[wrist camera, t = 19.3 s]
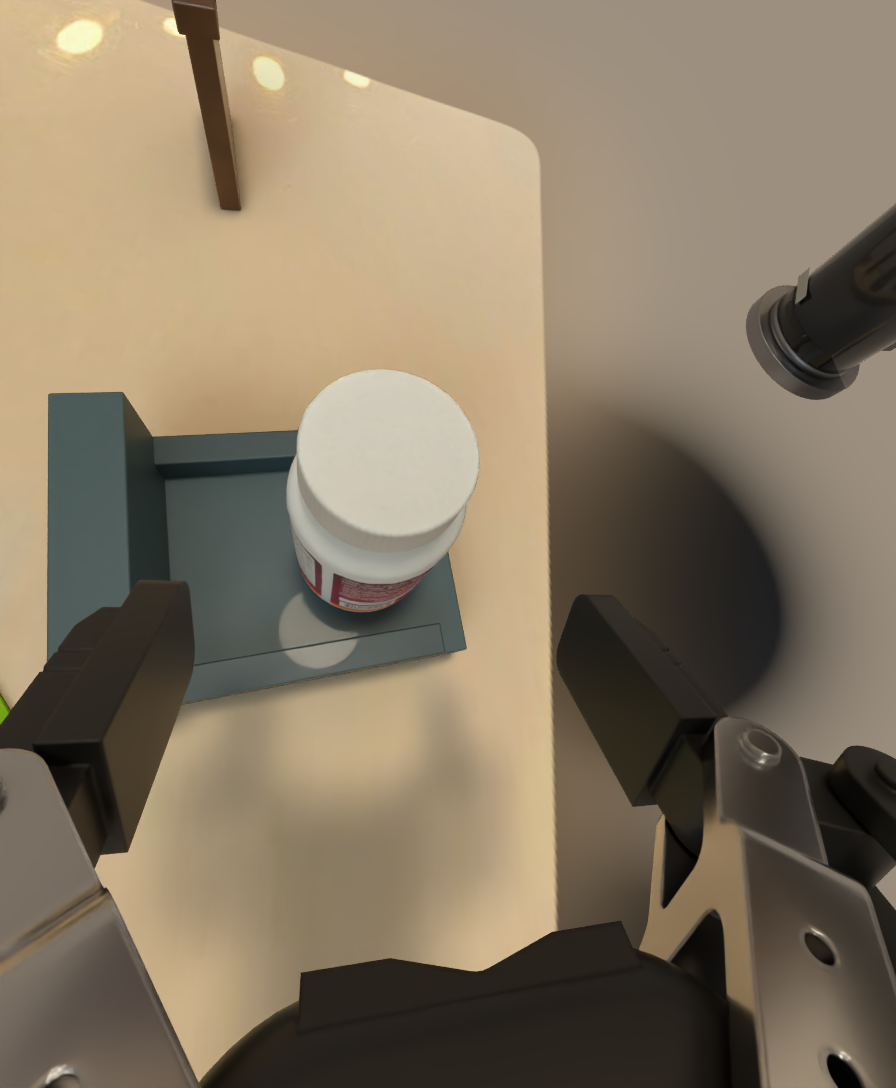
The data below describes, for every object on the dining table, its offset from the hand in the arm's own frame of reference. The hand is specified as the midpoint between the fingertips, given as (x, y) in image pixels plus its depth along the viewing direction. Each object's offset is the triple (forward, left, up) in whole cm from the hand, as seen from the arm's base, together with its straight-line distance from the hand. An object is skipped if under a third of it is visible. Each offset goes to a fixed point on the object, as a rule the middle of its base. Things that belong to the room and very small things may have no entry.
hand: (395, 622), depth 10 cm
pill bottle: (-1, -5, -13) cm, 14 cm away
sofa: (+2, -5, -16) cm, 17 cm away
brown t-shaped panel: (+3, -33, -16) cm, 37 cm away
